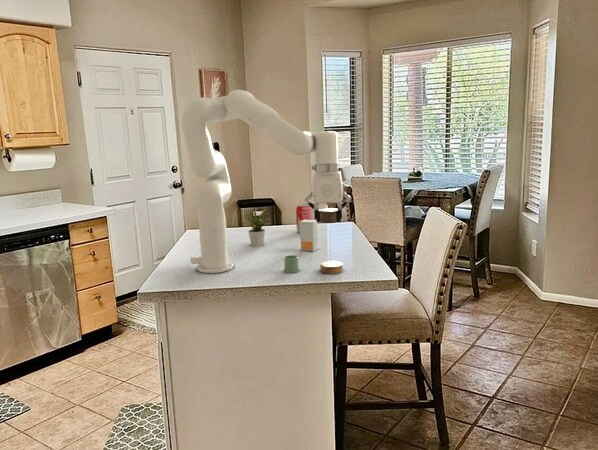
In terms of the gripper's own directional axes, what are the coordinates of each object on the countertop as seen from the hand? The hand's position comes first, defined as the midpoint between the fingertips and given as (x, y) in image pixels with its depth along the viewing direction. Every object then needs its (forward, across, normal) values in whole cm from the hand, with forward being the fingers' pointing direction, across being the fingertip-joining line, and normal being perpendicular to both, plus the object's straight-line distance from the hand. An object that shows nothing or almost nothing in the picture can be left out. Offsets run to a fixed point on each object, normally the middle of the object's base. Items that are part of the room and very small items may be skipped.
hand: (328, 220), depth 174 cm
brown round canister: (0, 0, 0) cm, 0 cm away
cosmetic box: (+18, -9, +30) cm, 36 cm away
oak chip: (+18, +1, 0) cm, 18 cm away
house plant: (+18, -33, +38) cm, 54 cm away
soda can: (+18, -14, +64) cm, 68 cm away
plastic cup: (+18, -13, 0) cm, 22 cm away
